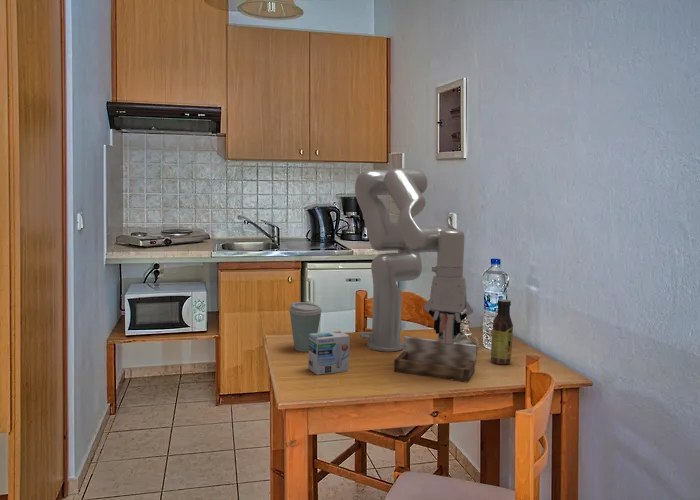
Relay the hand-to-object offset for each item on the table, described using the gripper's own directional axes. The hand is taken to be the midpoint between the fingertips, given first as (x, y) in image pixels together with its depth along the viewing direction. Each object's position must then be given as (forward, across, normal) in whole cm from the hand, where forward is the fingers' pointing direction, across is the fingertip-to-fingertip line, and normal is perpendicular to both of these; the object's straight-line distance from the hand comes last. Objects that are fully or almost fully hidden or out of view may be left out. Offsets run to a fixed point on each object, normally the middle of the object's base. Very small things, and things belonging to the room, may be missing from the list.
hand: (447, 333), depth 185 cm
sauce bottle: (+12, +14, +19) cm, 27 cm away
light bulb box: (+12, -32, -12) cm, 37 cm away
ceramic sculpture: (+12, 0, +19) cm, 23 cm away
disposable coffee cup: (+12, -47, +4) cm, 49 cm away
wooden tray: (+12, -3, +1) cm, 13 cm away
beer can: (+3, 0, 0) cm, 3 cm away
